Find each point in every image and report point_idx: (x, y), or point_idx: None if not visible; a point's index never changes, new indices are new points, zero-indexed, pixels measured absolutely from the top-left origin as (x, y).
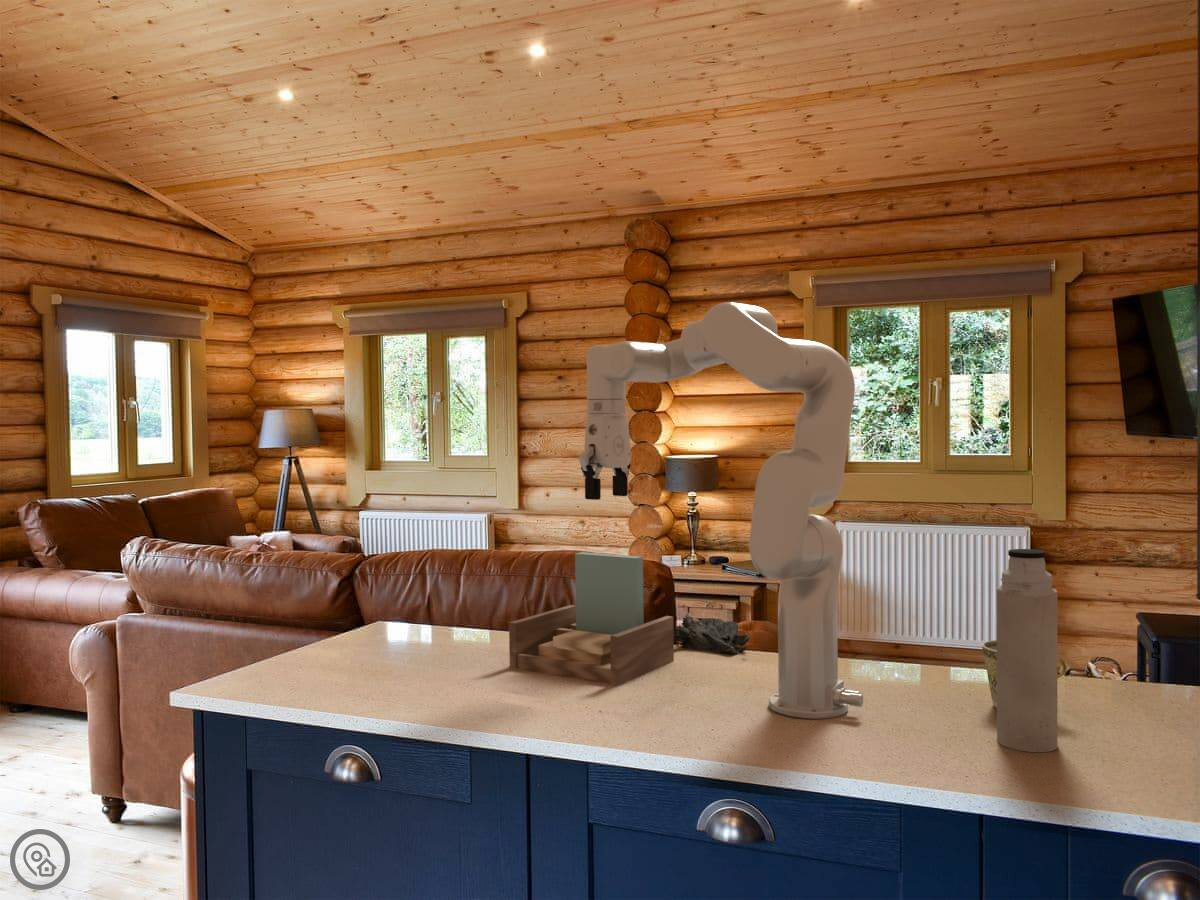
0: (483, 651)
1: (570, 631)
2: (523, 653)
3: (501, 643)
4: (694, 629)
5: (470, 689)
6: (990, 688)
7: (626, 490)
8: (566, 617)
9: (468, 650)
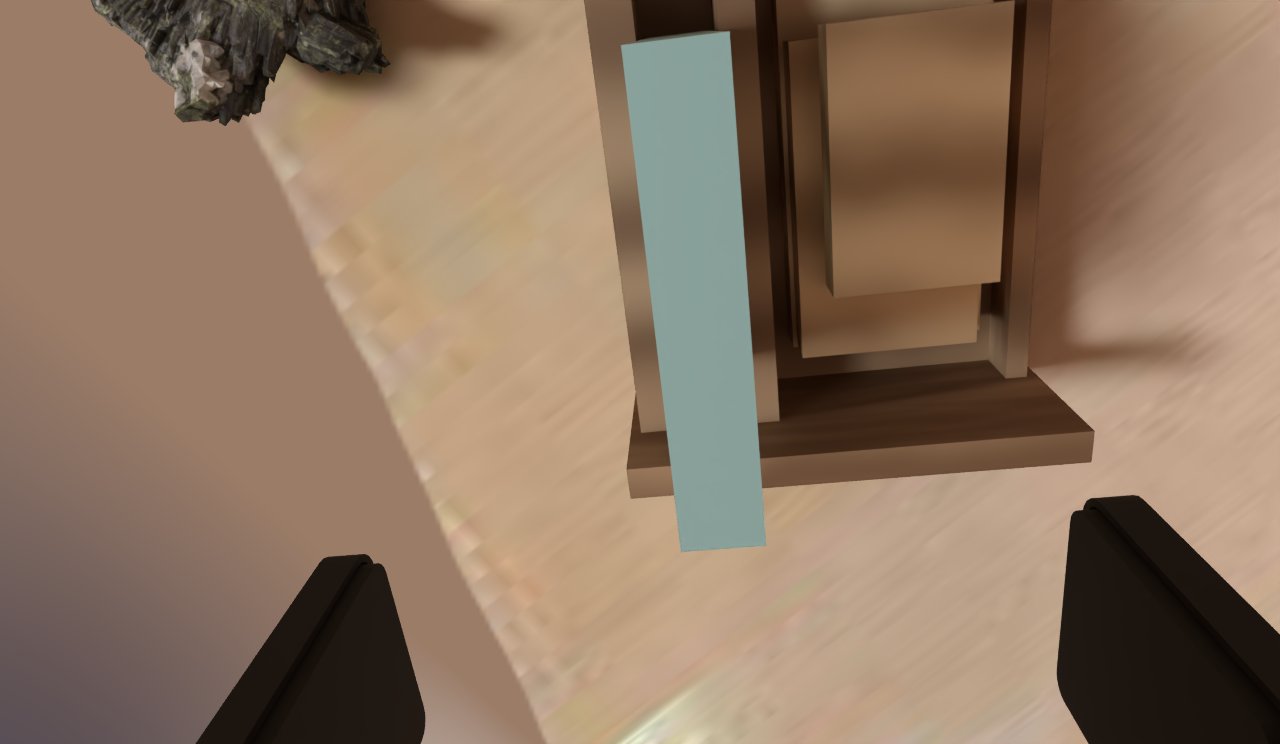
0: (790, 634)
1: (870, 291)
2: (987, 379)
3: (673, 658)
4: (280, 5)
5: (1215, 357)
6: None
7: (328, 596)
8: None
9: (807, 673)
